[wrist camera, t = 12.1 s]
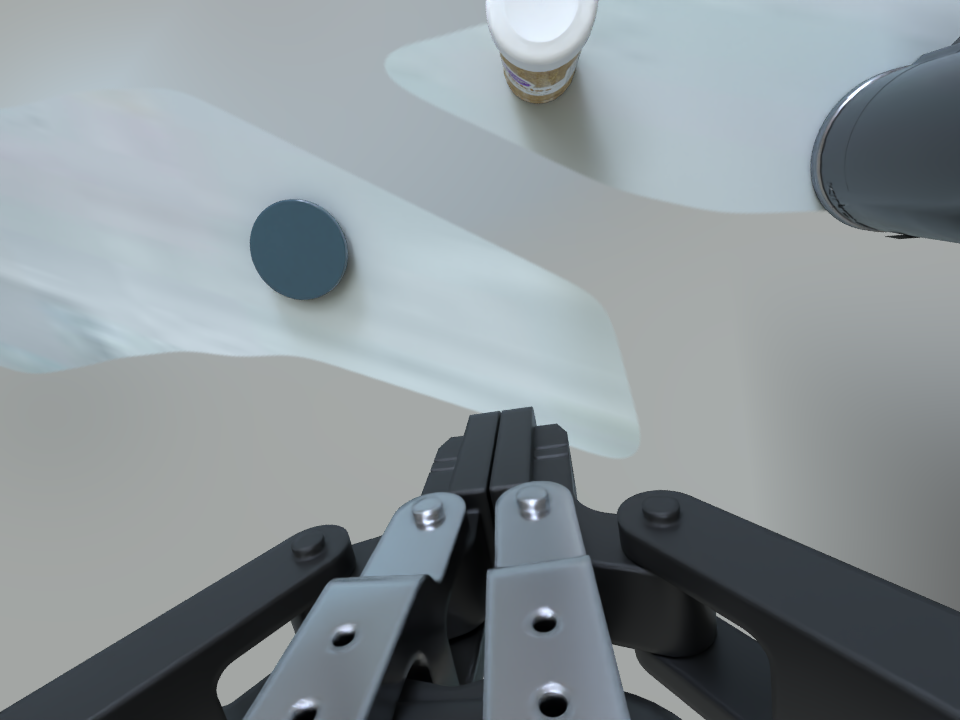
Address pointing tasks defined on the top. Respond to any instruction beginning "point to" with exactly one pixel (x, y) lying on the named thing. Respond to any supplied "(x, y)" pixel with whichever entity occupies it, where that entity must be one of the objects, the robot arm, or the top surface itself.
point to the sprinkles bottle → (540, 43)
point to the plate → (298, 249)
